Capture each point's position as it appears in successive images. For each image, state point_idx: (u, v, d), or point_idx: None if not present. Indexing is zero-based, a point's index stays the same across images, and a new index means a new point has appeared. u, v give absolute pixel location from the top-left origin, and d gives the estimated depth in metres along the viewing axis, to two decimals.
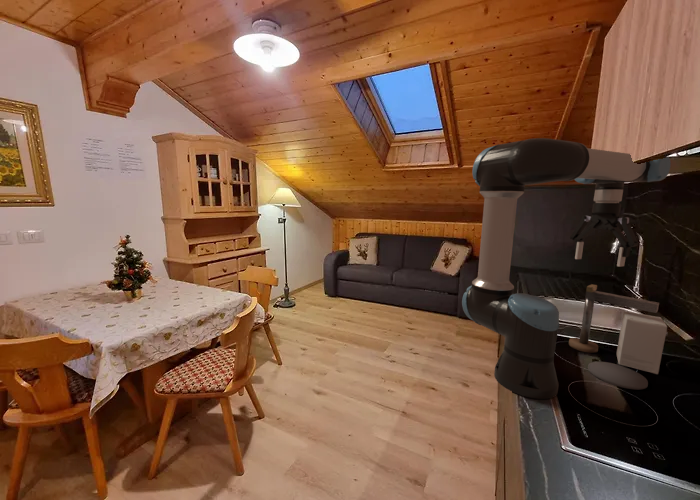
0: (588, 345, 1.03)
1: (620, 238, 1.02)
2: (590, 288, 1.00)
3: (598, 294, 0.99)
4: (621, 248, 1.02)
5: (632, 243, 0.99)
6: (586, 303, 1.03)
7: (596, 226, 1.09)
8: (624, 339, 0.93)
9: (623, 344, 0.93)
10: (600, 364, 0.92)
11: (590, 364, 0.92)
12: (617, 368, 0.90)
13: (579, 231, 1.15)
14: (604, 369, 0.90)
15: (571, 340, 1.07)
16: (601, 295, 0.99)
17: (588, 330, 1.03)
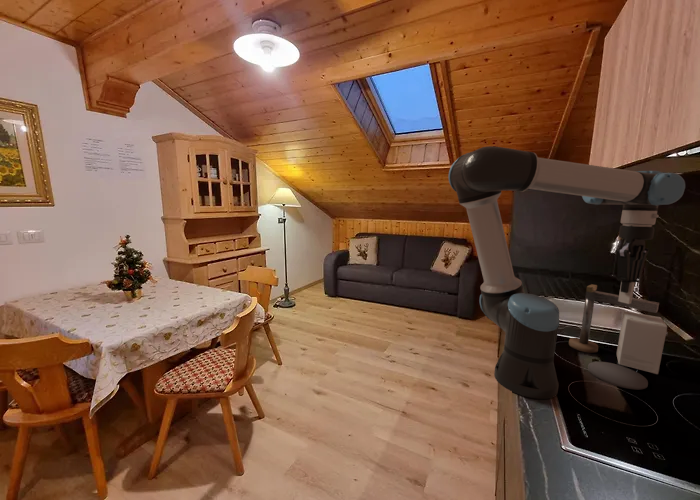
0: (588, 345, 1.03)
1: None
2: (590, 288, 1.00)
3: (598, 294, 0.99)
4: (621, 282, 0.94)
5: None
6: (586, 303, 1.03)
7: None
8: (624, 339, 0.93)
9: (623, 344, 0.93)
10: (600, 364, 0.92)
11: (590, 364, 0.92)
12: (617, 368, 0.90)
13: None
14: (604, 369, 0.90)
15: (571, 340, 1.07)
16: (601, 295, 0.99)
17: (588, 330, 1.03)
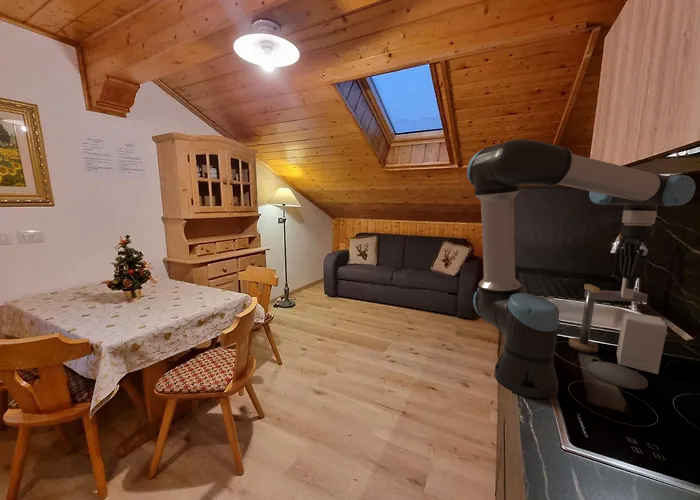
0: (588, 345, 1.03)
1: (629, 268, 0.96)
2: (597, 289, 0.99)
3: (601, 293, 1.00)
4: (625, 279, 0.98)
5: (631, 275, 0.95)
6: (590, 304, 1.02)
7: None
8: (624, 339, 0.93)
9: (623, 344, 0.93)
10: (600, 364, 0.92)
11: (590, 364, 0.92)
12: (617, 368, 0.90)
13: None
14: (604, 369, 0.90)
15: (571, 340, 1.07)
16: (604, 294, 1.00)
17: (589, 330, 1.04)
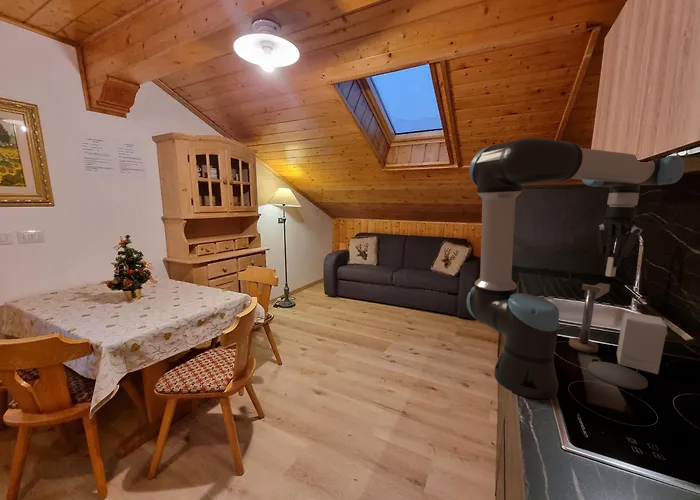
0: (588, 345, 1.03)
1: (617, 248, 1.02)
2: (601, 288, 1.00)
3: None
4: (612, 258, 1.03)
5: (623, 254, 1.00)
6: (593, 304, 1.02)
7: None
8: (624, 339, 0.93)
9: (623, 344, 0.93)
10: (600, 364, 0.92)
11: (590, 364, 0.92)
12: (617, 368, 0.90)
13: (604, 242, 1.06)
14: (604, 369, 0.90)
15: (571, 340, 1.07)
16: None
17: None
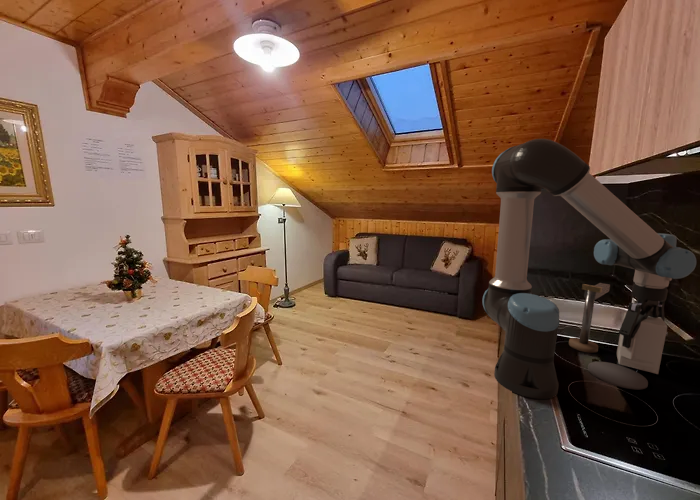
0: (588, 345, 1.03)
1: None
2: (601, 288, 1.00)
3: None
4: (623, 335, 0.92)
5: None
6: (593, 304, 1.02)
7: None
8: None
9: None
10: (600, 364, 0.92)
11: (590, 364, 0.92)
12: (617, 368, 0.90)
13: None
14: (604, 369, 0.90)
15: (571, 340, 1.07)
16: None
17: None
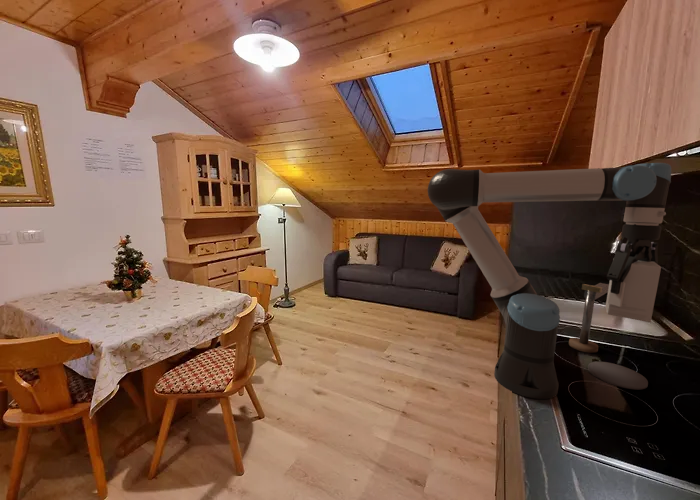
0: (588, 345, 1.03)
1: None
2: (601, 288, 1.00)
3: None
4: None
5: None
6: (593, 304, 1.02)
7: None
8: None
9: None
10: (600, 364, 0.92)
11: (590, 364, 0.92)
12: (617, 368, 0.90)
13: None
14: (604, 369, 0.90)
15: (571, 340, 1.07)
16: None
17: None
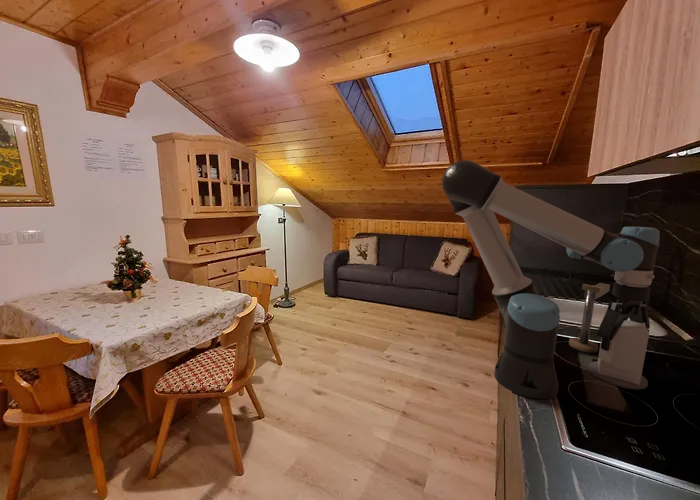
0: (588, 345, 1.03)
1: None
2: (601, 288, 1.00)
3: None
4: None
5: None
6: (593, 304, 1.02)
7: None
8: None
9: None
10: None
11: (590, 364, 0.92)
12: None
13: None
14: None
15: (571, 340, 1.07)
16: None
17: None
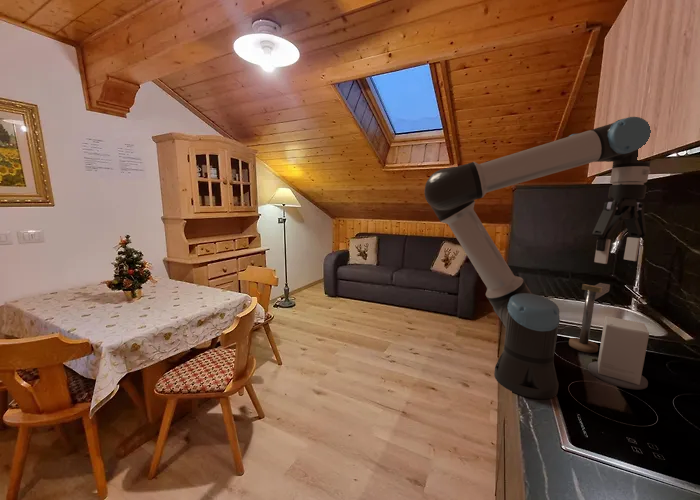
0: (588, 345, 1.03)
1: None
2: (601, 288, 1.00)
3: None
4: None
5: None
6: (593, 304, 1.02)
7: None
8: (604, 346, 0.86)
9: (603, 352, 0.86)
10: None
11: (590, 364, 0.92)
12: None
13: None
14: None
15: (571, 340, 1.07)
16: None
17: None
